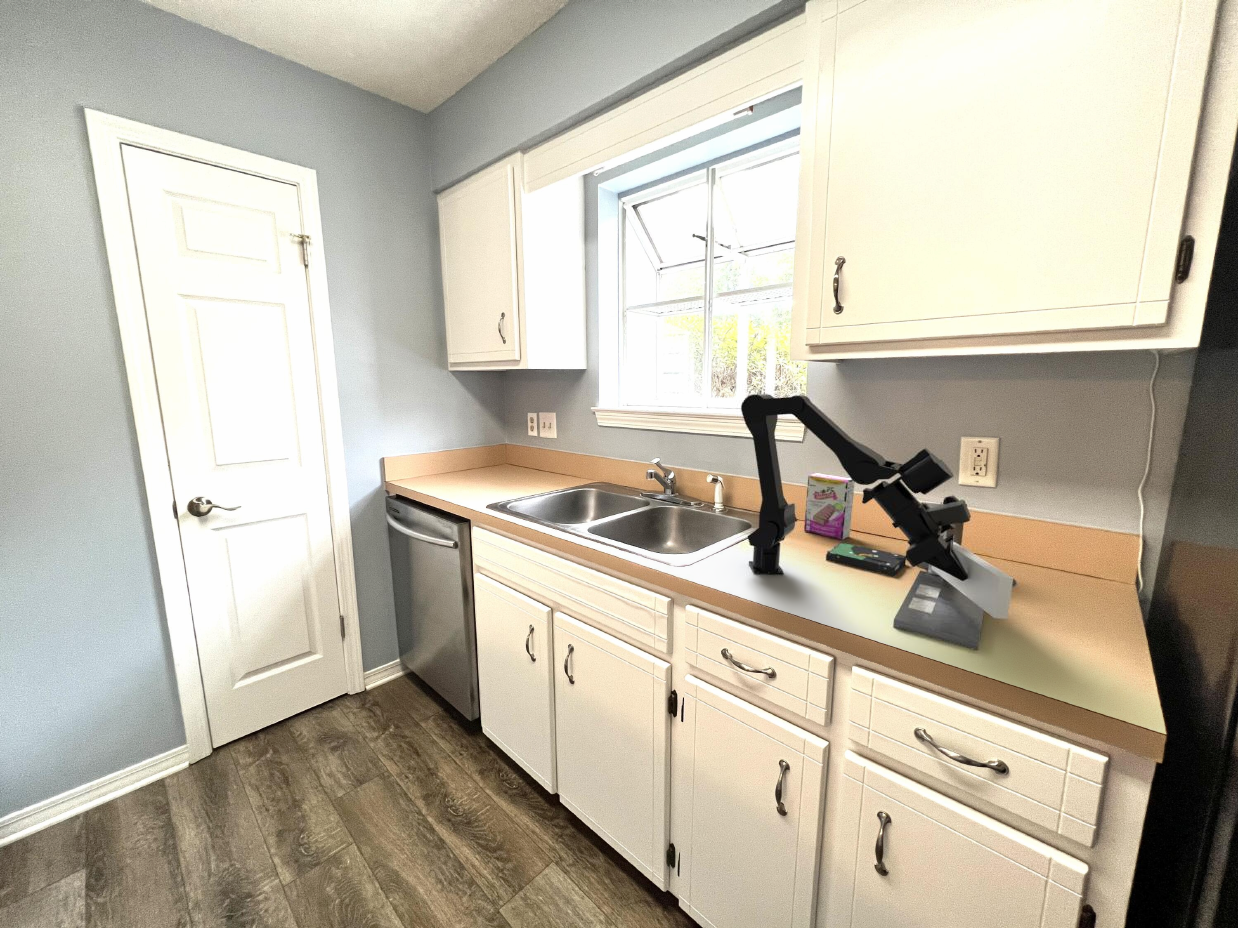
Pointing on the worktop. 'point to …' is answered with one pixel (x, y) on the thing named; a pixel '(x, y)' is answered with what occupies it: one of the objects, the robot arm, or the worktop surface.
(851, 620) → the worktop surface
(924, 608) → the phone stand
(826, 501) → the candy bar box
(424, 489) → the worktop surface
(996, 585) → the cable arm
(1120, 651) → the worktop surface
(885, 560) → the disk drive
